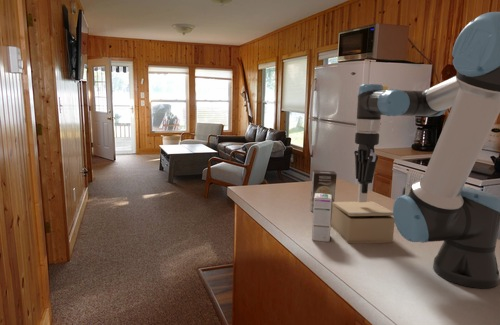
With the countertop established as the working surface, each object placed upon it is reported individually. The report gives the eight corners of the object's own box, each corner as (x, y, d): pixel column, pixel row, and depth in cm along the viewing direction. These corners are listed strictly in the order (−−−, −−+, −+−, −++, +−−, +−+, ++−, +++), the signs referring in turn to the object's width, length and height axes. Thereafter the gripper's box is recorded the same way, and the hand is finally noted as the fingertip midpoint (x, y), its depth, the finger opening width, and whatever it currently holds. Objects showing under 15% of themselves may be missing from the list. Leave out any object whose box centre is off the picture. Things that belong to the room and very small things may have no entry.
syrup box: (329, 242, 115) (332, 198, 113) (311, 240, 117) (313, 197, 114) (329, 235, 121) (332, 193, 118) (311, 233, 122) (314, 192, 119)
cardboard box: (392, 242, 117) (394, 218, 115) (348, 243, 115) (350, 219, 113) (370, 224, 132) (372, 203, 131) (331, 225, 130) (332, 204, 129)
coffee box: (311, 211, 146) (313, 173, 143) (310, 207, 152) (312, 169, 149) (334, 213, 145) (336, 174, 142) (332, 208, 151) (334, 170, 148)
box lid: (395, 215, 115) (395, 212, 115) (350, 216, 113) (350, 213, 113) (372, 203, 131) (372, 201, 131) (332, 204, 129) (332, 201, 129)
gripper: (388, 134, 112) (381, 207, 116) (369, 130, 125) (364, 196, 129) (365, 134, 111) (359, 207, 115) (348, 130, 124) (344, 196, 128)
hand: (361, 201), depth 122 cm, fingers closed
